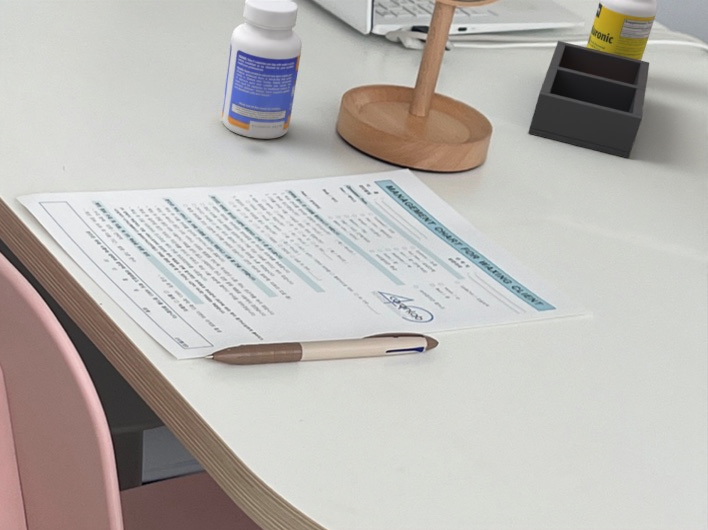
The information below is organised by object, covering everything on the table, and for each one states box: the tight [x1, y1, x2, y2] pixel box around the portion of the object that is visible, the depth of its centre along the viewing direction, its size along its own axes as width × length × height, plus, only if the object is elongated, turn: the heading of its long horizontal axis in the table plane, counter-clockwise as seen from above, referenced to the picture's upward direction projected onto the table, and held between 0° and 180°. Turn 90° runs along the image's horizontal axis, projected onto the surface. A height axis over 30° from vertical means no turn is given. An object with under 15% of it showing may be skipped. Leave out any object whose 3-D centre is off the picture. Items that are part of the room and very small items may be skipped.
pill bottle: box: [221, 0, 303, 140], centre depth 100 cm, size 5×5×10 cm
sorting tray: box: [527, 40, 650, 159], centre depth 116 cm, size 16×9×4 cm, turn 164°
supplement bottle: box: [586, 0, 658, 61], centre depth 125 cm, size 5×5×10 cm
